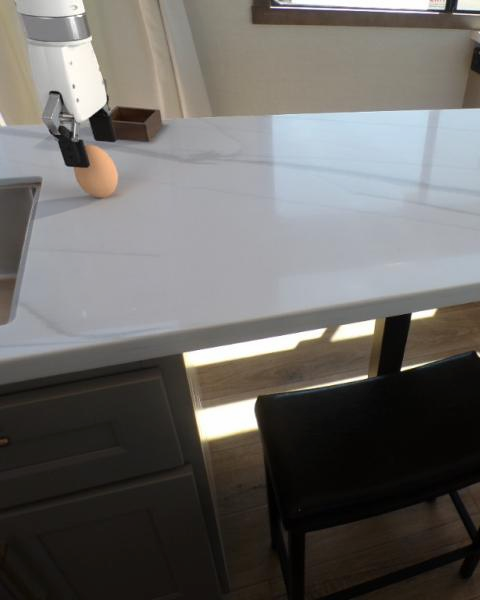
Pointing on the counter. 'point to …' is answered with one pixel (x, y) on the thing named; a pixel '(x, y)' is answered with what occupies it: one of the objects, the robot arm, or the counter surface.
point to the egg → (97, 173)
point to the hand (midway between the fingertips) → (92, 153)
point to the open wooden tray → (136, 123)
